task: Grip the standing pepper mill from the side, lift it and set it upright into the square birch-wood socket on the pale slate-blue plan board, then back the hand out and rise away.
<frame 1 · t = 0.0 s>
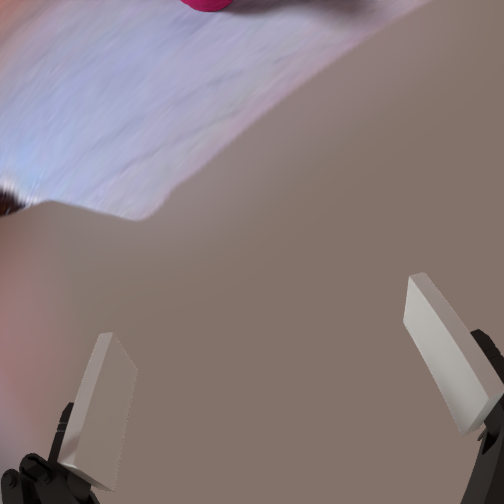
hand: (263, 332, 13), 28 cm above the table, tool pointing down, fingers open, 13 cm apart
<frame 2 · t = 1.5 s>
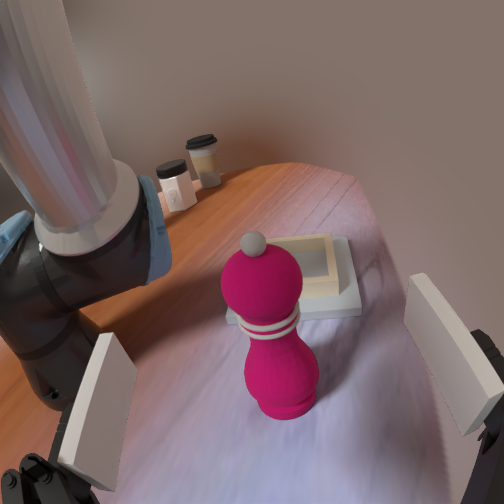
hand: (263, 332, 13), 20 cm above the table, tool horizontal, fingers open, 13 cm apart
plan board: (295, 279, 49), on the table
pepper mill: (286, 397, 32), on the table
jar: (182, 205, 85), on the table
coffee cup: (211, 185, 95), on the table
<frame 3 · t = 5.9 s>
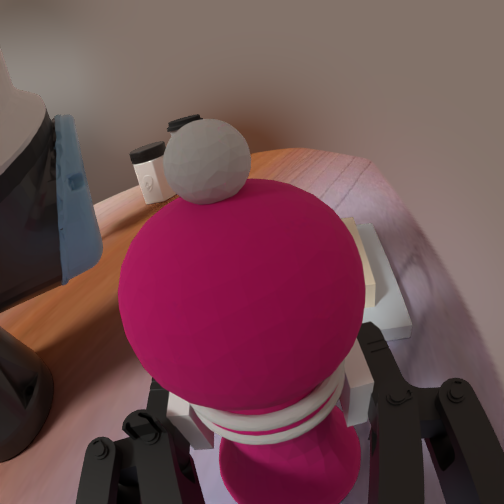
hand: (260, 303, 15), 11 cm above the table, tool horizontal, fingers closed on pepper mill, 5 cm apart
plan board: (304, 284, 33), on the table
pepper mill: (297, 482, 16), on the table, touching gripper
jar: (161, 197, 70), on the table
coffee cup: (198, 174, 80), on the table
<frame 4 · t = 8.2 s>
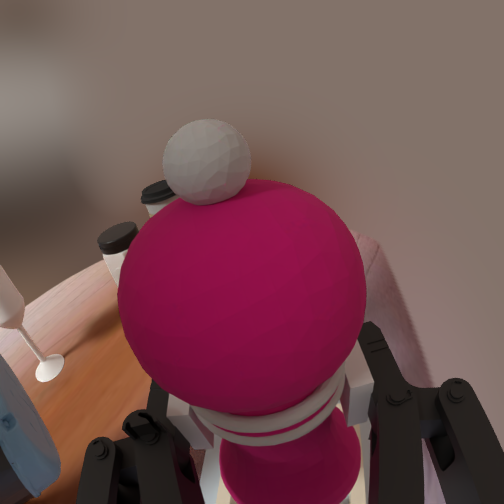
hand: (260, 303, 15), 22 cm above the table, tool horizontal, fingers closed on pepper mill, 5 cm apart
champagne flute: (50, 368, 43), on the table
plan board: (295, 476, 25), on the table
pepper mill: (297, 482, 16), point 11 cm above the table, touching gripper
jar: (139, 284, 61), on the table
coffee cup: (179, 247, 71), on the table
when the fingers open (14 cm above the table, at t = 10.7 s): pepper mill drops 1 cm, resting on plan board.
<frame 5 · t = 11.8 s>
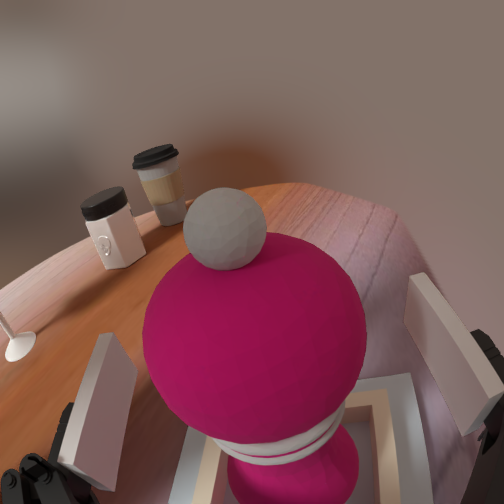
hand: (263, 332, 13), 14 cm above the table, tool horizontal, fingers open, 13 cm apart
champagne flute: (20, 347, 37), on the table
plan board: (300, 491, 17), on the table
pepper mill: (299, 488, 17), point 1 cm above the table, touching plan board
jar: (126, 257, 54), on the table
coffee cup: (174, 220, 64), on the table
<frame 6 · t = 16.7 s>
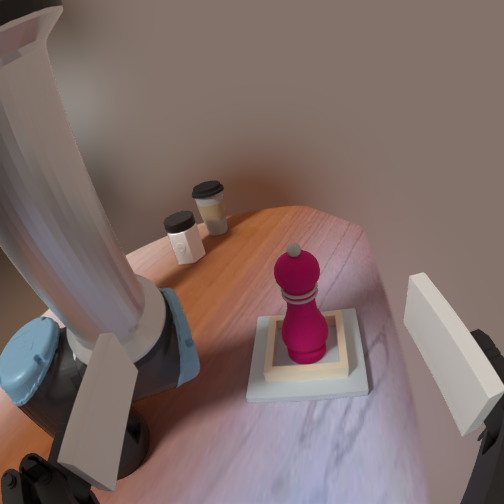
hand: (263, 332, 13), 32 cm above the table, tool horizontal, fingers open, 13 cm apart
plan board: (307, 355, 50), on the table
pepper mill: (307, 351, 50), point 1 cm above the table, touching plan board
jar: (191, 256, 87), on the table
coffee cup: (218, 231, 97), on the table
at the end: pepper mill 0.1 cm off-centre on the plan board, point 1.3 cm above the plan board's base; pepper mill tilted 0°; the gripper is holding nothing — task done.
